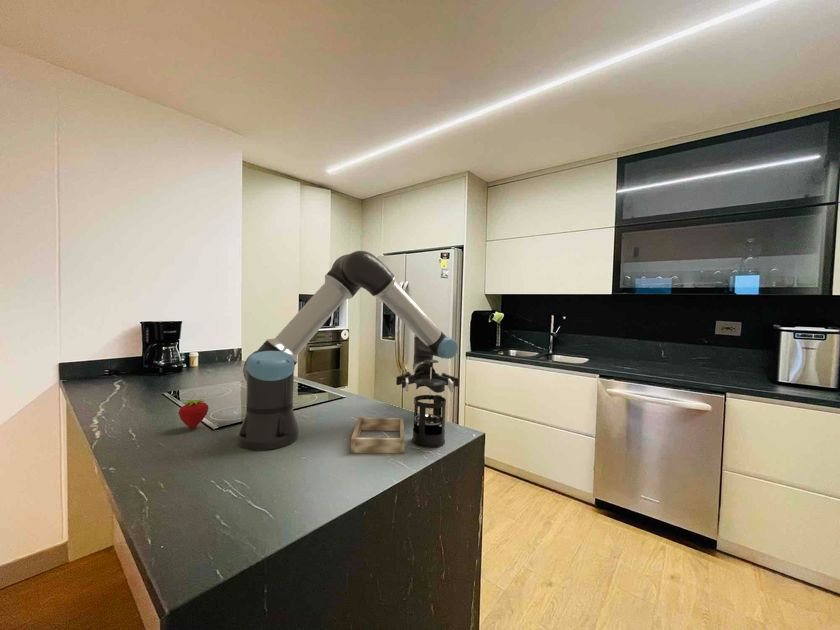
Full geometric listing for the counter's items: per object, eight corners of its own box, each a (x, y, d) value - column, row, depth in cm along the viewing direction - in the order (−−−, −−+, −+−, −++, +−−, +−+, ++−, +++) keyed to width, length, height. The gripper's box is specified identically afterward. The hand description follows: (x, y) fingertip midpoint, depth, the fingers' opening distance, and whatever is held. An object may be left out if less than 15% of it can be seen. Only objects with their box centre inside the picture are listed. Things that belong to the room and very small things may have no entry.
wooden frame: (350, 452, 85) (351, 439, 85) (358, 429, 102) (358, 417, 102) (404, 453, 86) (404, 439, 86) (402, 429, 103) (403, 418, 103)
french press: (435, 452, 88) (438, 364, 87) (404, 444, 92) (407, 360, 92) (452, 437, 98) (455, 359, 98) (424, 430, 103) (426, 355, 102)
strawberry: (212, 427, 99) (213, 393, 99) (184, 435, 93) (185, 399, 93) (201, 423, 102) (202, 390, 102) (173, 430, 96) (174, 395, 95)
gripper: (458, 384, 123) (470, 400, 102) (389, 382, 121) (387, 398, 100) (459, 363, 123) (471, 375, 102) (390, 362, 121) (388, 373, 100)
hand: (429, 387), depth 101 cm, fingers open, 13 cm apart
